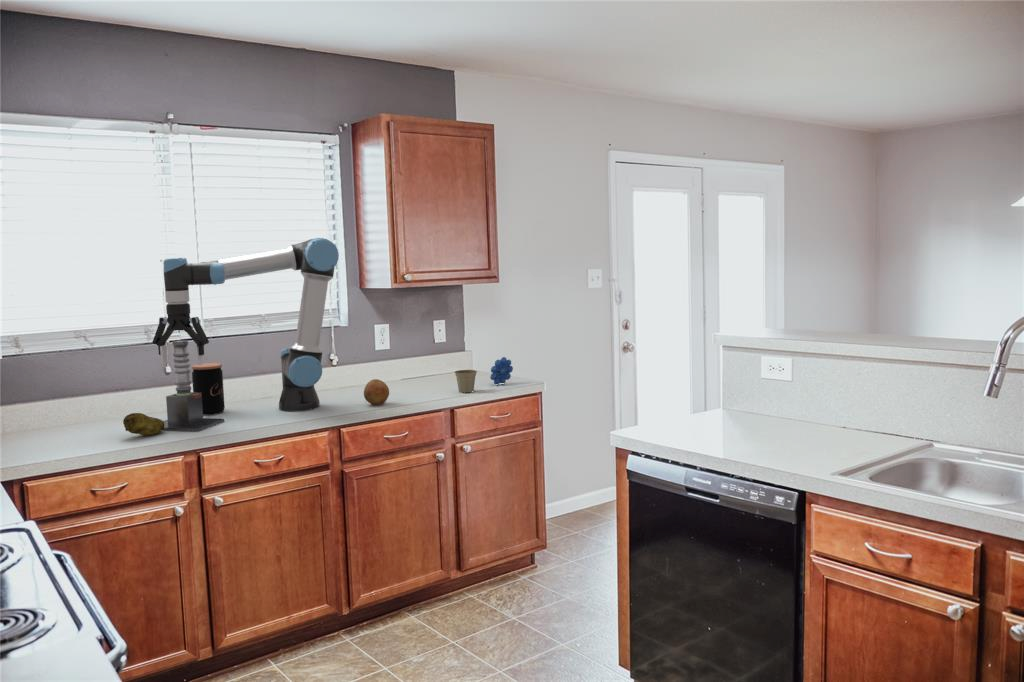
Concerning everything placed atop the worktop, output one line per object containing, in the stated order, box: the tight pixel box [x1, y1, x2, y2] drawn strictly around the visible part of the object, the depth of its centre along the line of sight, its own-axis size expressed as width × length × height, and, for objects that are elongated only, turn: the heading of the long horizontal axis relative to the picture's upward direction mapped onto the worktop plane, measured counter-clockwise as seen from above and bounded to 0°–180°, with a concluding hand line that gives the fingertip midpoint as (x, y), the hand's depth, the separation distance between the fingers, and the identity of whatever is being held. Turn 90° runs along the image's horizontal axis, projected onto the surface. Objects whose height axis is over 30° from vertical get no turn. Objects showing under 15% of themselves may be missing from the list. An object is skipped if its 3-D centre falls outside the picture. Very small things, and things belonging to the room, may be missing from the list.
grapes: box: [490, 356, 514, 385], centre depth 353 cm, size 12×7×12 cm, turn 125°
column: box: [172, 340, 193, 396], centre depth 279 cm, size 5×5×22 cm
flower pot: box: [453, 369, 478, 393], centre depth 336 cm, size 9×9×9 cm
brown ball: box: [363, 378, 390, 406], centre depth 312 cm, size 10×10×10 cm
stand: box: [162, 391, 226, 433], centre depth 281 cm, size 20×16×11 cm
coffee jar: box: [191, 362, 225, 416], centre depth 303 cm, size 11×11×18 cm
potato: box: [122, 412, 164, 437], centre depth 267 cm, size 8×13×8 cm, turn 125°
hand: (182, 364), depth 279 cm, fingers open, 13 cm apart
